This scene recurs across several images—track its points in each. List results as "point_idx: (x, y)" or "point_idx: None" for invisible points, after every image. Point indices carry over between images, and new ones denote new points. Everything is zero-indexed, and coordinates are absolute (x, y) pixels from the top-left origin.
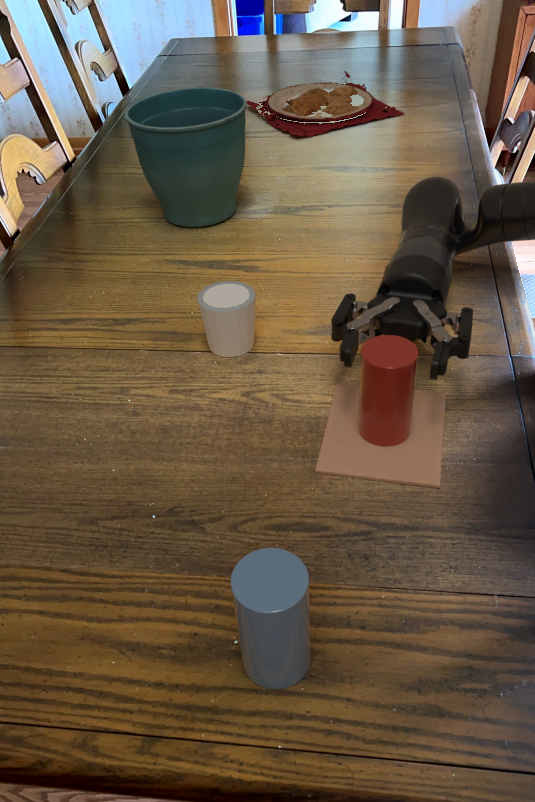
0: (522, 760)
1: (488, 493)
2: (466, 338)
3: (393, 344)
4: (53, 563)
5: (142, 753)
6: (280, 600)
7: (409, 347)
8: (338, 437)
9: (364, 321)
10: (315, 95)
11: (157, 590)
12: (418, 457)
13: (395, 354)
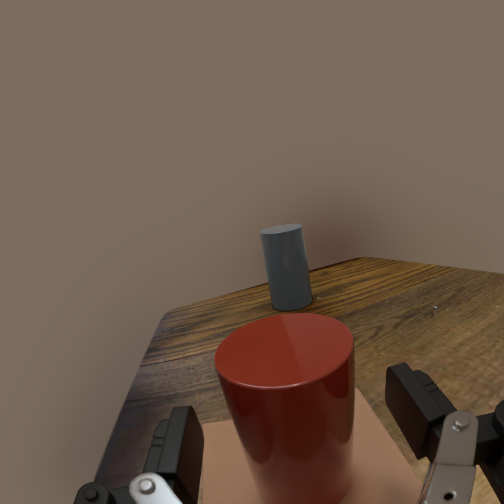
0: (164, 316)
1: (149, 434)
2: (90, 485)
3: (281, 360)
4: (443, 276)
5: (324, 271)
6: (269, 228)
7: (238, 365)
8: (364, 436)
9: (446, 456)
10: None
11: (381, 292)
12: (235, 451)
13: (265, 342)
